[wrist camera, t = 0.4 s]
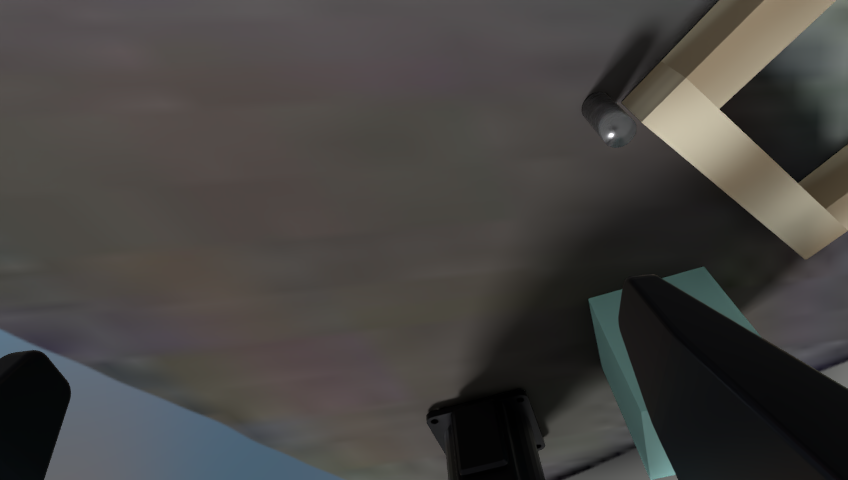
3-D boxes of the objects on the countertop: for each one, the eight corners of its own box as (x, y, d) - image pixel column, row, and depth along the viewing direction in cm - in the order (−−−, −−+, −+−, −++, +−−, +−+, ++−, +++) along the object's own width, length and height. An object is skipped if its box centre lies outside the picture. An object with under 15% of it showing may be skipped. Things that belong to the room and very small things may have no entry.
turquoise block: (704, 340, 29) (779, 452, 23) (601, 366, 30) (650, 479, 24) (703, 265, 26) (792, 375, 20) (587, 297, 26) (641, 411, 21)
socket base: (1056, 27, 19) (1134, 45, 17) (755, 252, 25) (786, 284, 23) (907, -253, 14) (992, -274, 12) (575, 110, 20) (596, 136, 18)
